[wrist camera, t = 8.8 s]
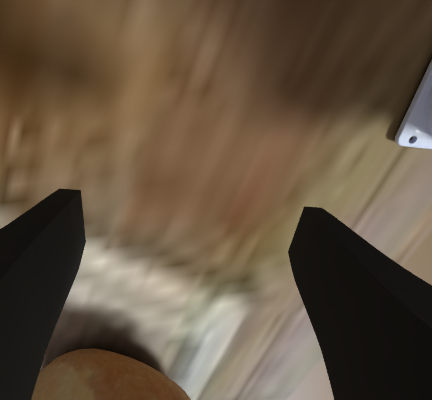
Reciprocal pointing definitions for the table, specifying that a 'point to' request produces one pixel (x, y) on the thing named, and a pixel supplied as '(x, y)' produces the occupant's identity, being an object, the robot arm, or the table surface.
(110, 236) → the table surface
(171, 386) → the jug
